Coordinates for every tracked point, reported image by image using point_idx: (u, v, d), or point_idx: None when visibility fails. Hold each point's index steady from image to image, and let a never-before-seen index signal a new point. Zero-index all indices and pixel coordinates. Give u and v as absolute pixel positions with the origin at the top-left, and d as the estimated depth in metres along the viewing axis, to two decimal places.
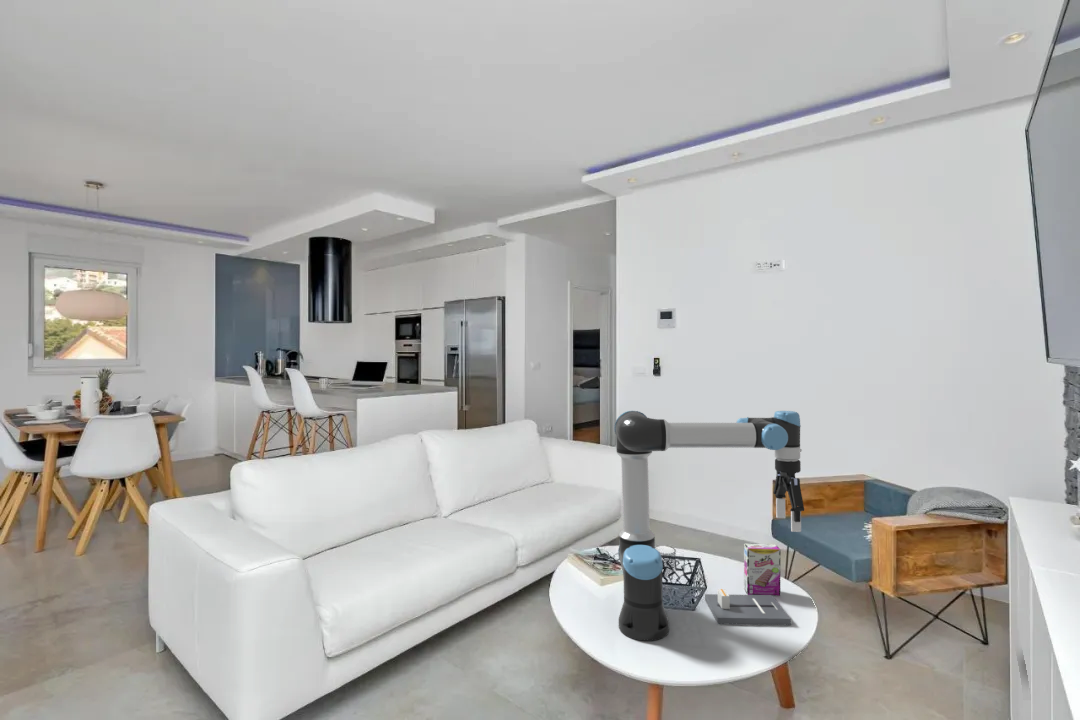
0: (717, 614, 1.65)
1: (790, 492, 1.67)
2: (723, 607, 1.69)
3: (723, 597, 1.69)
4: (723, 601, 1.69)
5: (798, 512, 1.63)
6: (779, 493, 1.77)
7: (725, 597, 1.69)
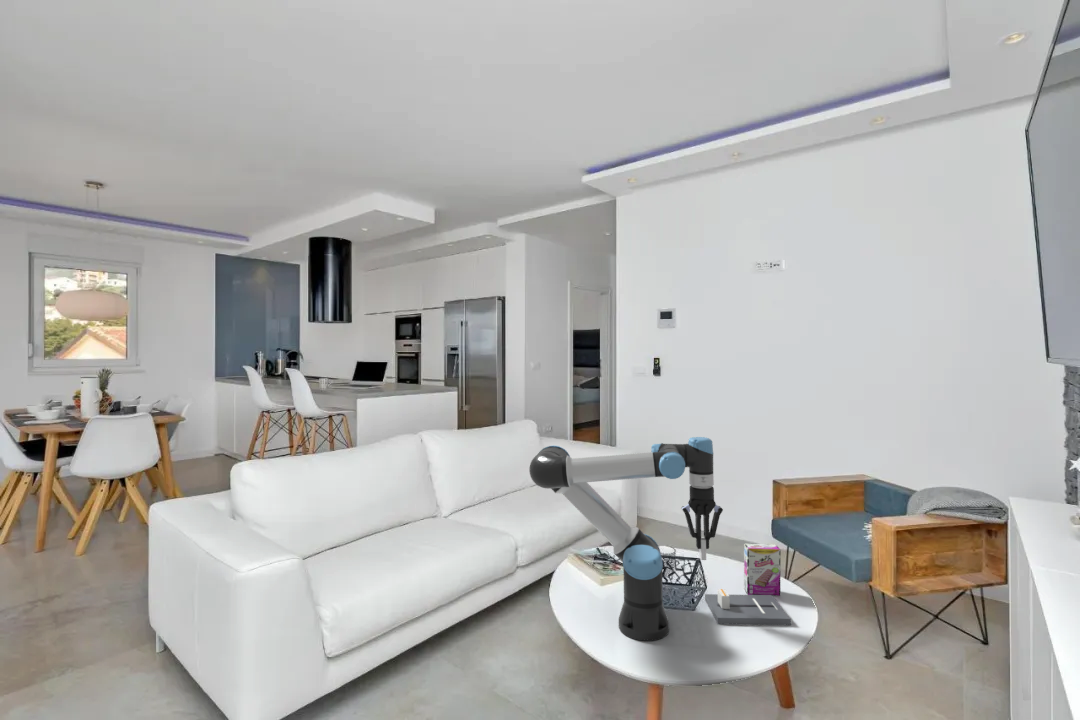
0: (717, 614, 1.65)
1: (695, 519, 1.72)
2: (723, 607, 1.69)
3: (723, 597, 1.69)
4: (723, 601, 1.69)
5: (696, 539, 1.71)
6: (704, 528, 1.72)
7: (725, 597, 1.69)
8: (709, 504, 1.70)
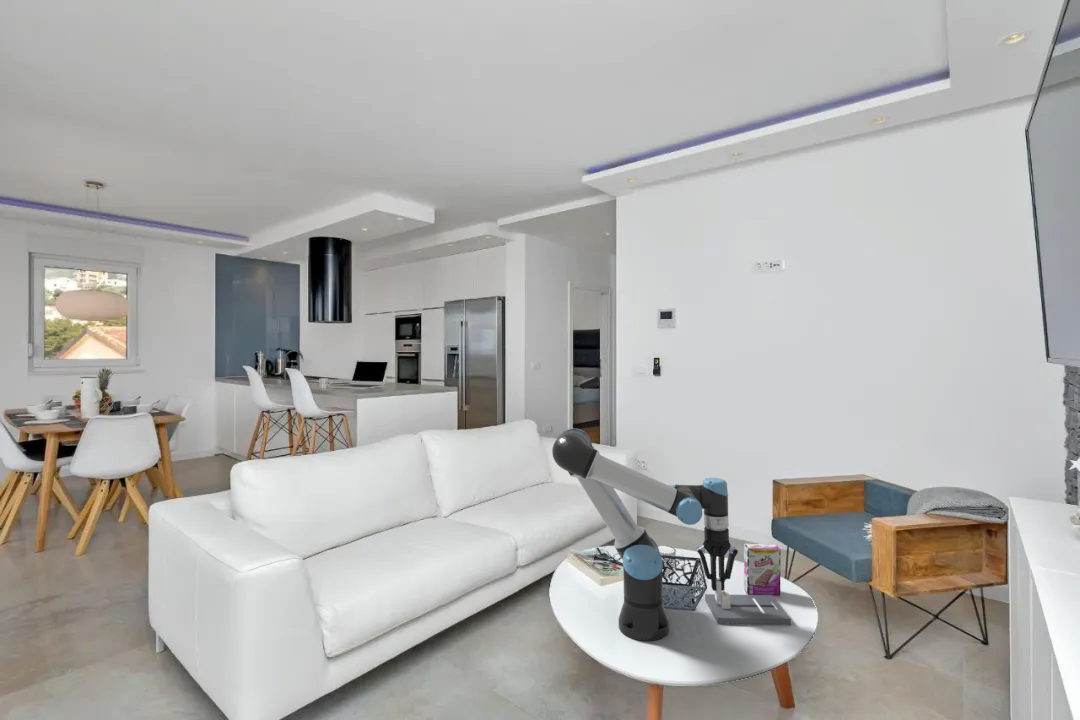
0: (717, 614, 1.65)
1: (710, 560, 1.72)
2: (724, 607, 1.69)
3: (724, 597, 1.69)
4: (724, 601, 1.69)
5: (711, 580, 1.71)
6: (719, 570, 1.72)
7: (726, 597, 1.69)
8: (724, 546, 1.70)
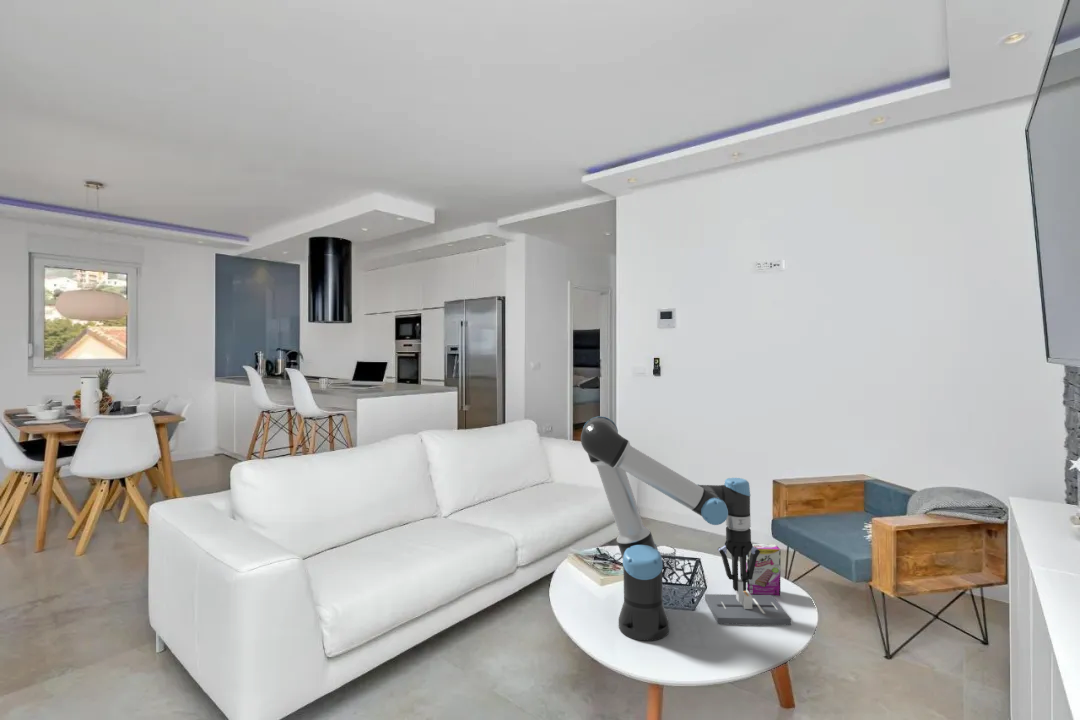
0: (717, 614, 1.65)
1: (732, 560, 1.72)
2: (746, 607, 1.68)
3: (746, 597, 1.68)
4: (746, 601, 1.68)
5: (733, 580, 1.71)
6: (740, 570, 1.71)
7: (748, 597, 1.68)
8: (746, 546, 1.69)
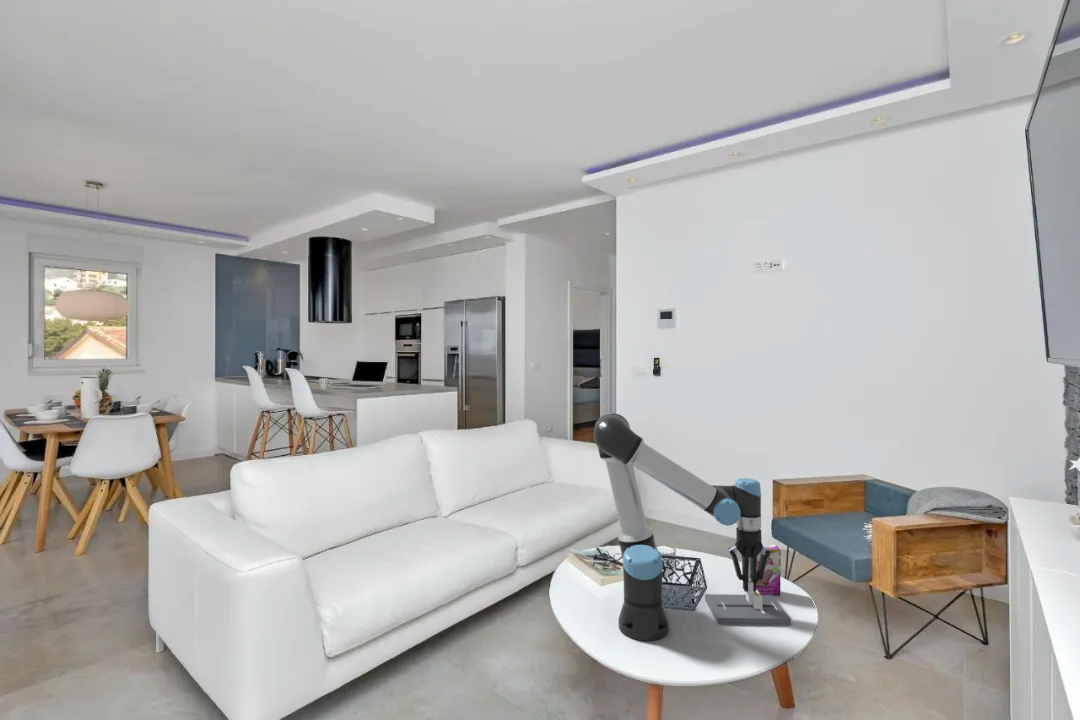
0: (717, 614, 1.65)
1: (742, 561, 1.71)
2: (756, 607, 1.68)
3: (756, 597, 1.68)
4: (756, 601, 1.68)
5: (743, 581, 1.70)
6: (750, 571, 1.71)
7: (758, 597, 1.68)
8: (757, 547, 1.69)
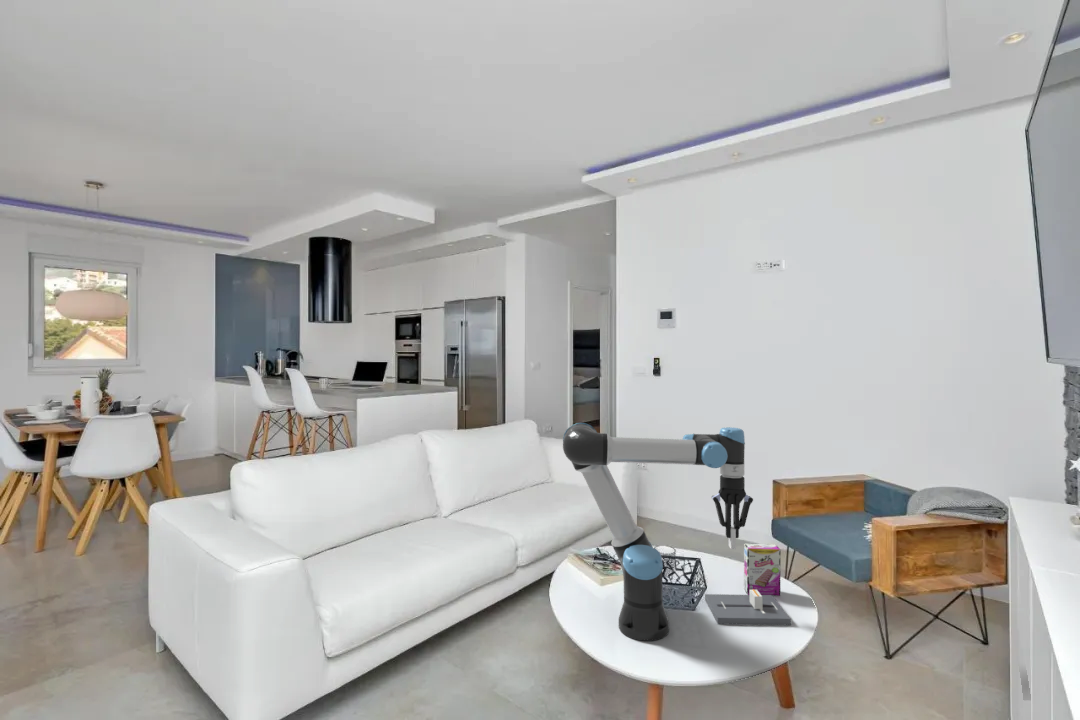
0: (717, 614, 1.65)
1: (725, 508, 1.74)
2: (756, 607, 1.68)
3: (756, 597, 1.68)
4: (756, 601, 1.68)
5: (726, 528, 1.73)
6: (733, 518, 1.74)
7: (758, 597, 1.68)
8: (739, 494, 1.72)
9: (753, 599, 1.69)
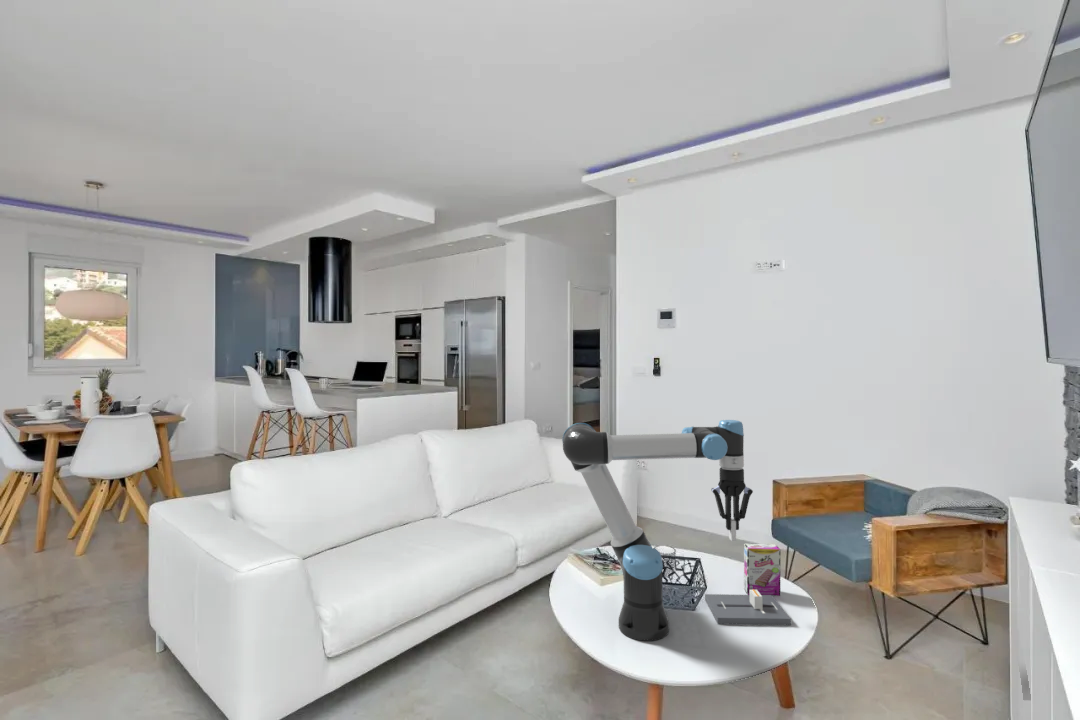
0: (717, 614, 1.65)
1: (725, 500, 1.74)
2: (756, 607, 1.68)
3: (756, 597, 1.68)
4: (756, 601, 1.68)
5: (726, 520, 1.74)
6: (733, 510, 1.74)
7: (758, 597, 1.68)
8: (739, 486, 1.72)
9: (753, 599, 1.69)
